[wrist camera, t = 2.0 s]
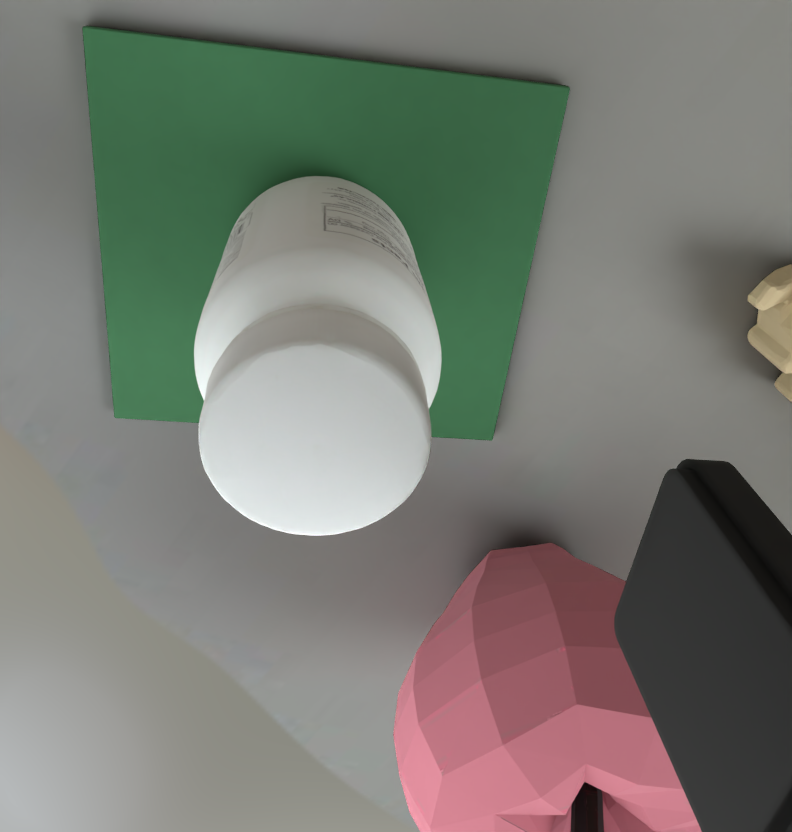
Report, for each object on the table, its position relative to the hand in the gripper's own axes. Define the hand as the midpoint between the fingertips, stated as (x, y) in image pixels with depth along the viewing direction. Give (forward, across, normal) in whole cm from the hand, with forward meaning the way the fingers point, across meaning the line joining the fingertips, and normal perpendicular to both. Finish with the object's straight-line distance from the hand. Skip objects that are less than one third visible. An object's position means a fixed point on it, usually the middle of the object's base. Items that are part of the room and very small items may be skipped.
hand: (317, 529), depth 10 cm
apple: (+10, -7, +10) cm, 15 cm away
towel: (+9, 0, 0) cm, 9 cm away
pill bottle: (+9, 0, 0) cm, 9 cm away
